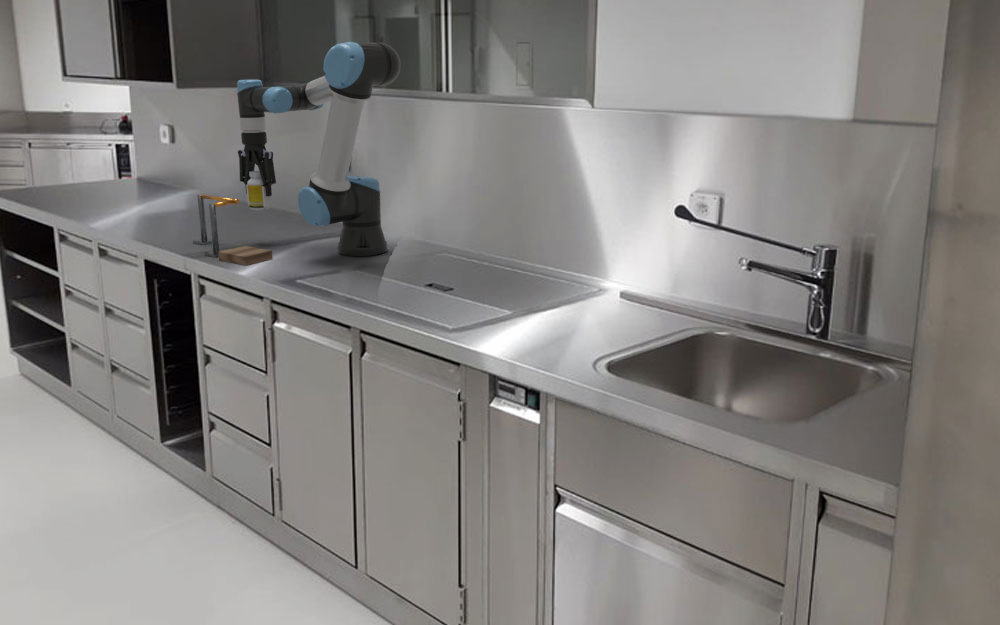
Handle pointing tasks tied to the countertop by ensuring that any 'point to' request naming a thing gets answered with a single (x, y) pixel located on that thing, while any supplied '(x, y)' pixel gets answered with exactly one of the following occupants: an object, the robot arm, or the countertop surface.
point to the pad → (245, 255)
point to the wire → (213, 221)
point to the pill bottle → (255, 191)
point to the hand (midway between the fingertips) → (259, 205)
